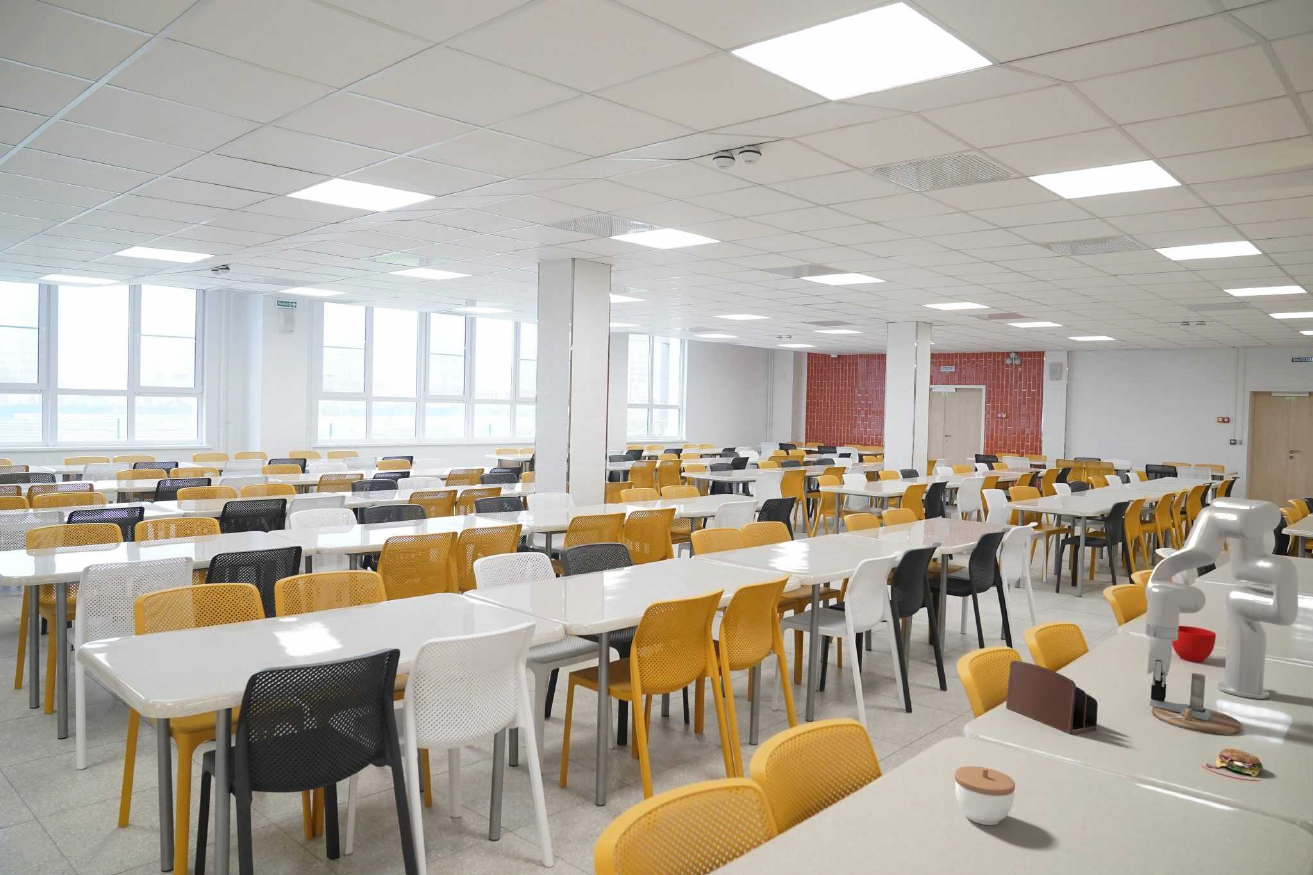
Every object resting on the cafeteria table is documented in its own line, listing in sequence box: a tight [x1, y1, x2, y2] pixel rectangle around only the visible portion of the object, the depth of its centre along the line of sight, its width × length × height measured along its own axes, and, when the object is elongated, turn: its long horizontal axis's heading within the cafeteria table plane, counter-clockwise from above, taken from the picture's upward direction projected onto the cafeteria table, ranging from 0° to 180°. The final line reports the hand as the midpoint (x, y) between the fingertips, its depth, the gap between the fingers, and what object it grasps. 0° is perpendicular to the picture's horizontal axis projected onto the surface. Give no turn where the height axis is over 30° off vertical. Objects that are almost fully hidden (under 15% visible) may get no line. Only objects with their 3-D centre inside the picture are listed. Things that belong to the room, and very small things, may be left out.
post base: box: [1151, 672, 1243, 736], centre depth 223 cm, size 20×20×12 cm
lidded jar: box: [954, 765, 1016, 826], centre depth 161 cm, size 11×11×9 cm
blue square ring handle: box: [1149, 698, 1213, 721], centre depth 226 cm, size 14×6×8 cm, turn 49°
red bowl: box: [1172, 625, 1217, 663], centre depth 287 cm, size 13×17×10 cm
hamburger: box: [1201, 748, 1264, 782], centre depth 192 cm, size 14×14×6 cm
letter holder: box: [1005, 660, 1099, 735], centre depth 219 cm, size 10×20×14 cm, turn 26°
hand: (1158, 698), depth 229 cm, fingers closed on blue square ring handle, 2 cm apart
